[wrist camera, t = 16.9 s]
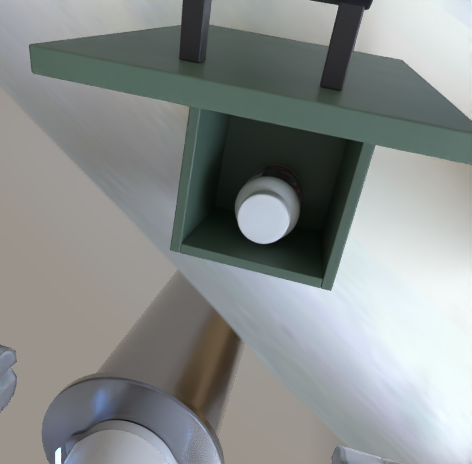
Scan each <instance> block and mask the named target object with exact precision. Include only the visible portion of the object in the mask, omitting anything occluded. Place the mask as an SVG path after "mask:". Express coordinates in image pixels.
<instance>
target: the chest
mask: <svg viewBox="0 0 472 464" xmlns="http://www.w3.org/2000/svg"><path fill="white" fill-rule="evenodd" d="M374 148H375V145H374V144H369V143H364V142H359V141H355V140H350V139H345V138H340V137H335V136H331V135H326V134H321V133H316V132H311V131H307V130H302V129H297V128H292V127H288V126H283V125H278V124H273V123H268V122H264V121H259V120H254V119H249V118H244V117H240V116H235V115H230V114H225V113H220V112H216V111H211V110H206V109H201V108H197V107H192V106H190V110H189V117H188V124H187V131H186V139H185V146H184V153H183V160H182V168H181V175H180V182H179V190H178V197H177V204H176V211H175V219H174V226H173V233H172V240H171V248H170V250H171V251H175V252H180V253H183V254H187V255H191V256H195V257H199V258H203V259H207V260H211V261H215V262H219V263H223V264H227V265H231V266H235V267H239V268H243V269H247V270H251V271H255V272H259V273H263V274H266V275H270V276H274V277H278V278H282V279H286V280H290V281H294V282H298V283H302V284H306V285H310V286H314V287H318V288H320V287H321V288H322V289H326V290H330V291H331V290H332V286H333V283H334V280H335V277H336V273H337V270H338V267H339V263H340V260H341V257H342V253H343V250H344V247H345V244H346V240H347V237H348V234H349V230H350V227H351V224H352V221H353V217H354V214H355V211H356V207H357V204H358V201H359V197H360V194H361V191H362V188H363V184H364V181H365V178H366V174H367V171H368V168H369V165H370V161H371V158H372V155H373V151H374ZM273 164H275V165H282V166H285V167H287V168H289V169H291V170H292V171H293V172H294V173H295V174H296V175H297V176H298V178H299V180H300V182H301V185H302V201H301V208H300V215H299V219H298V221H297V223H296V225H295V227H294V228H293V229H292V230H291V232H289V233H288V234H287V235H286V236H284V237H282V238H280V239H278V240H277V241H275V242H272V243H268V244H260V243H256V242H253V241H251V240H249V239H248V238H247V237H246V236H245V235H244V234H243V233H242V232H241V230H240V228H239V226H238V221H237V219H236V215H235V202H236V198H237V196H238V193H239V192H240V190H241V188H242V187H243V186H244V185H245V184H246V183H247V181H248V180H249V179H250V178H251V177H252V175H253V174H254V173H255V172H256V171H257V170H259V169H260V168H262V167H264V166H267V165H273Z"/></svg>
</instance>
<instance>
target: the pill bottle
mask: <svg viewBox="0 0 472 464" xmlns="http://www.w3.org/2000/svg"><path fill="white" fill-rule="evenodd" d="M301 201H302V185H301V182H300V180H299V178H298V176H297V175H296V174H295V173H294V172H293V171H292V170H291V169H289V168H287V167H285V166H282V165H275V164H273V165H267V166H264V167H262V168H260V169H259V170H257V171H256V172H255V173H254V174H253V175H252V177H251V178H250V179H249V180H248V181H247V183H246V184H245V185H244V186H243V187H242V188H241V190H240V192H239V193H238V196H237V198H236V202H235V215H236V219H237V221H238V226H239V228H240V230H241V232H242V233H243V234H244V235H245V236H246V237H247V238H248V239H249V240H251V241H253V242H256V243H260V244H268V243H272V242H275V241H277V240H278V239H280V238H282V237H284V236H286V235H287V234H288V233H289V232H291V230H292V229H293V228H294V227H295V225H296V223H297V221H298V219H299V215H300V208H301Z"/></svg>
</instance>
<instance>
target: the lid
mask: <svg viewBox="0 0 472 464" xmlns="http://www.w3.org/2000/svg"><path fill="white" fill-rule="evenodd" d="M312 1H318V2H324V3H329V4H335V5H339V7H338V11H337V15H336V20H335V24H334V28H333V32H332V36H331V40H330V44H329V47H328V46H323V45H318V44H312V43H307V42H301V41H296V40H290V39H285V38H279V37H274V36H269V35H263V34H258V33H252V32H247V31H241V30H236V29H231V28H225V27H220V26H214V25H209V19H210V9H211V0H183V8H182V22H181V25H178V26H170V27H162V28H154V29H146V30H139V31H131V32H123V33H115V34H107V35H99V36H91V37H83V38H76V39H68V40H60V41H52V42H44V43H36V44H30V45H29V50H30V60H31V69H32V73H34V74H38V75H43V76H48V77H53V78H58V79H62V80H67V81H72V82H77V83H82V84H86V85H91V86H96V87H101V88H106V89H110V90H115V91H120V92H125V93H129V94H134V95H139V96H144V97H149V98H153V99H158V100H163V101H168V102H173V103H177V104H182V105H187V106H192V107H197V108H201V109H206V110H211V111H216V112H220V113H225V114H230V115H235V116H240V117H244V118H249V119H254V120H259V121H264V122H268V123H273V124H278V125H283V126H288V127H292V128H297V129H302V130H307V131H311V132H316V133H321V134H326V135H331V136H335V137H340V138H345V139H350V140H355V141H359V142H364V143H369V144H374V145H379V146H383V147H388V148H393V149H398V150H403V151H407V152H412V153H417V154H422V155H426V156H431V157H436V158H441V159H446V160H450V161H455V162H460V163H465V164H470V165H472V121H471V120H470V119H469V118H468V117H467V116H466V115H465V114H463V113H462V112H461V111H460V110H459V109H458V108H457V107H455V106H454V105H453V104H452V103H451V102H450V101H448V100H447V99H446V98H445V97H444V96H443V95H442V94H440V93H439V92H438V91H437V90H436V89H435V88H434V87H432V86H431V85H430V84H429V83H428V82H427V81H426V80H424V79H423V78H422V77H421V76H420V75H419V74H417V73H416V72H415V71H414V70H413V69H412V68H411V67H409V66H408V65H407V64H406V63H405V62H404V61H403V60H399V59H394V58H388V57H383V56H377V55H372V54H366V53H361V52H356V51H353V49H354V46H355V42H356V38H357V34H358V31H359V27H360V23H361V20H362V16H363V12H364V10H367V9H369V8H370V6H371V4H372V2H373V0H312Z"/></svg>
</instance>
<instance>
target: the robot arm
mask: <svg viewBox="0 0 472 464" xmlns="http://www.w3.org/2000/svg"><path fill="white" fill-rule="evenodd" d="M16 362H17V361H16V351H15V350H13V349H12V348H9V347H6V346H3V345H0V412H1V411H2V410H3V409H4V408H5V407H6V406H7V405H8V403H9V402H10V400H11V398H12V396H13V395H14V392H15V388H16V384H17V376H16V374H15V373H14V371H13V370H12V368H11V367H12V365H14V364H15V363H16ZM66 452H67V459H66V460H65V462H64V464H178V462H177V461H176V460H175V458H174V456H173V454H172V452H171V451H170V449H169V448H168V446H167V445H166V444H165V443H164V442H163V441H162V440H161V439H160V438H159V437H158V436H157V435H155V434H154V433H153V432H151V431H150V430H148V429H146V428H144V427H142V426H140V425H137V424H135V423H131V422H127V421H121V420H109V421H104V422H101V423H98V424H96V425H94V426H93V427H91V428H90V429H89V430H88V431H87V432H85V433H83V434H78V435H74V436H71V437H70V438H69V439H68V441H67V443H66ZM56 464H61V449H60V448H58V450H57V451H56ZM332 464H403V463H399V462H396V461H392V460H389V459H385V458H380V457H378V456H374V455H371V454H367V453H364V452H360V451H357V450H353V449H350V448H346V447H343V446H339V445H337V447H336V448H335V450H334V452H333V455H332Z"/></svg>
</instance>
